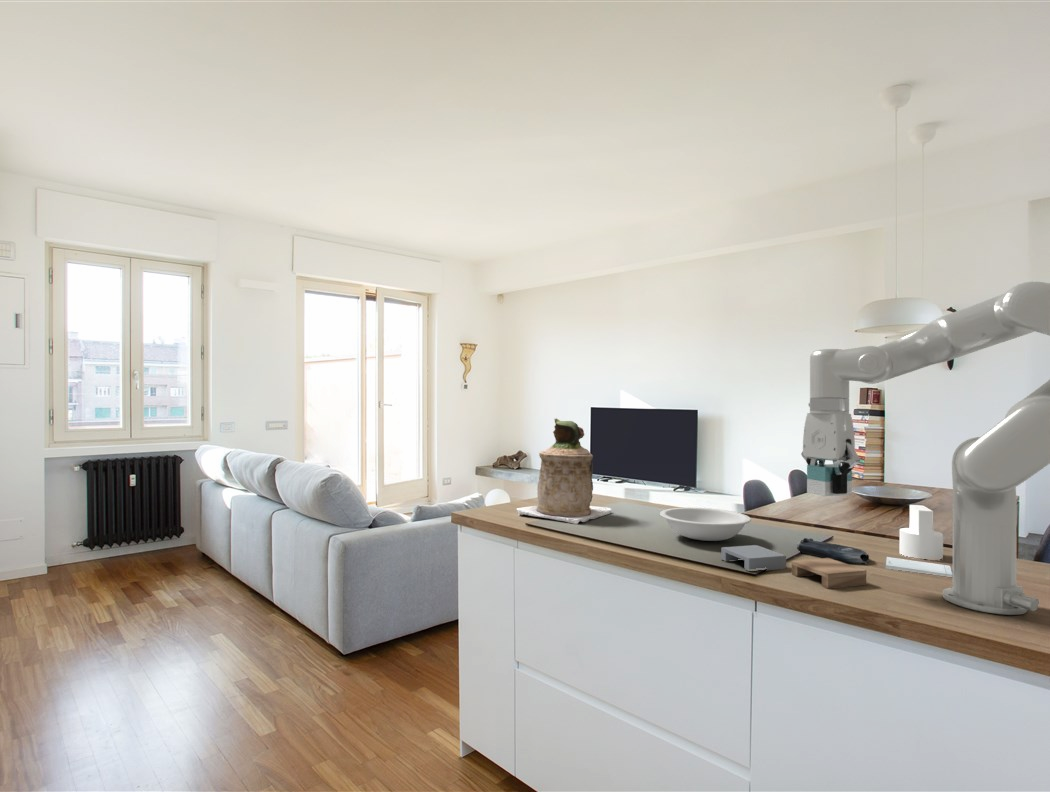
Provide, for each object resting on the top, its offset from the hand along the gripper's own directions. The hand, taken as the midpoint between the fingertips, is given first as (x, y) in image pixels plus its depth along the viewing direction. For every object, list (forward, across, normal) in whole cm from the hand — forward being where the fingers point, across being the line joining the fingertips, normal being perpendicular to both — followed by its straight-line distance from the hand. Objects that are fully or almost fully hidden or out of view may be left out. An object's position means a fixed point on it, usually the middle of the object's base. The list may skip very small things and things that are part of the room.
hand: (829, 490), depth 124 cm
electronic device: (+20, -15, +16) cm, 30 cm away
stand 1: (+19, -14, -8) cm, 25 cm away
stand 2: (+19, 0, 0) cm, 19 cm away
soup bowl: (+19, -39, -4) cm, 44 cm away
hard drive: (+20, -1, +27) cm, 33 cm away
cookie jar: (+19, -81, -29) cm, 88 cm away
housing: (+1, 0, 0) cm, 1 cm away
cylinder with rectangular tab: (+19, -10, +39) cm, 45 cm away
